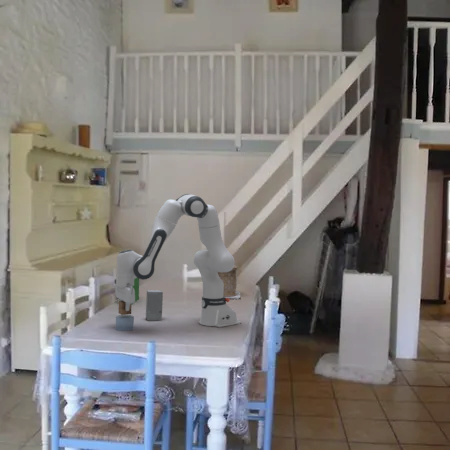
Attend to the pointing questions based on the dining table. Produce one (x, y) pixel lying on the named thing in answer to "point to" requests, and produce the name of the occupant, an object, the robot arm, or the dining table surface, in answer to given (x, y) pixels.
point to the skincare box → (154, 305)
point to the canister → (124, 322)
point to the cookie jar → (229, 284)
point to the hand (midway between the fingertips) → (125, 309)
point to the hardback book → (136, 288)
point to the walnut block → (123, 308)
